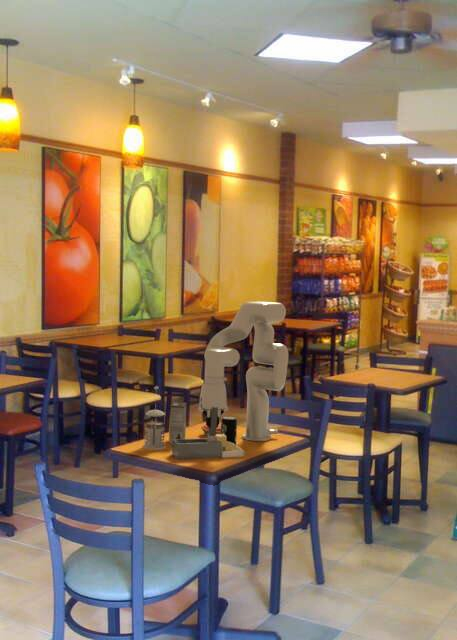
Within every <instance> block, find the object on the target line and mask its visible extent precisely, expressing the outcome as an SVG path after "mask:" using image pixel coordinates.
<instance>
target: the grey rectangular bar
mask: <svg viewBox="0 0 457 640" xmlns="http://www.w3.org/2000/svg"><path fill="white" fill-rule="evenodd" d="M217 411H218V407H216V408H214V407H212V409H211V410H210V417H211V427H210V428H209V430H208V436H206V437H207V442H216V425H217Z"/></svg>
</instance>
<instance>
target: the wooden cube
mask: <svg viewBox="0 0 457 640" xmlns="http://www.w3.org/2000/svg"><path fill="white" fill-rule="evenodd" d="M236 445H237V444H236ZM236 445H235V444H234V443H232V442H228V441H226V446H222V451H234V450H235V447H236Z"/></svg>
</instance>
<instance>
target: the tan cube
mask: <svg viewBox="0 0 457 640" xmlns="http://www.w3.org/2000/svg"><path fill="white" fill-rule="evenodd" d="M226 440H227V436H226V435H224V434H216V442H222V446H226Z"/></svg>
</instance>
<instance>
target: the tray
mask: <svg viewBox="0 0 457 640" xmlns="http://www.w3.org/2000/svg"><path fill="white" fill-rule="evenodd" d="M221 458H222V459H231V458H245V450H244V449H242V448H241V447H240V446H238V445H237V444H236V447H235V450H234V451H222V457H221Z"/></svg>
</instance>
